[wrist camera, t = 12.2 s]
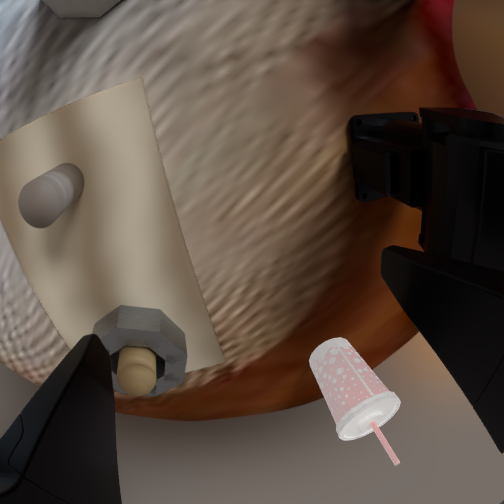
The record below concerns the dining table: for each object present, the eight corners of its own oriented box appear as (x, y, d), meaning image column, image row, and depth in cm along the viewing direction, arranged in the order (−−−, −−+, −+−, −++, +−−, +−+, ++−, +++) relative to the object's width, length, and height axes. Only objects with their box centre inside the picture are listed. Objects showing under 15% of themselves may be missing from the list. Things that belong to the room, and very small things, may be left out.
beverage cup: (299, 380, 30) (355, 491, 18) (304, 340, 27) (376, 466, 15) (350, 365, 31) (413, 462, 19) (360, 325, 28) (441, 430, 16)
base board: (143, 79, 15) (128, 64, 10) (223, 354, 25) (237, 407, 20) (-14, 150, 13) (-64, 169, 8) (102, 382, 24) (96, 433, 19)
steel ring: (141, 290, 20) (139, 312, 17) (200, 347, 23) (204, 370, 21) (78, 335, 20) (72, 357, 18) (138, 382, 23) (138, 405, 21)
